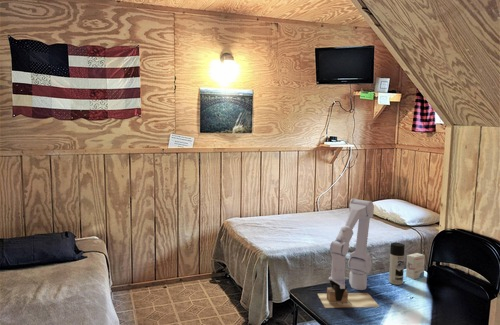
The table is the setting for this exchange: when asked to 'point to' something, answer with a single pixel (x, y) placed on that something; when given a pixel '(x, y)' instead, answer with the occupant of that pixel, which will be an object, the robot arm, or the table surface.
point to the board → (350, 301)
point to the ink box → (415, 265)
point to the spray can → (396, 263)
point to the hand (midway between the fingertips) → (336, 298)
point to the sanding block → (332, 297)
